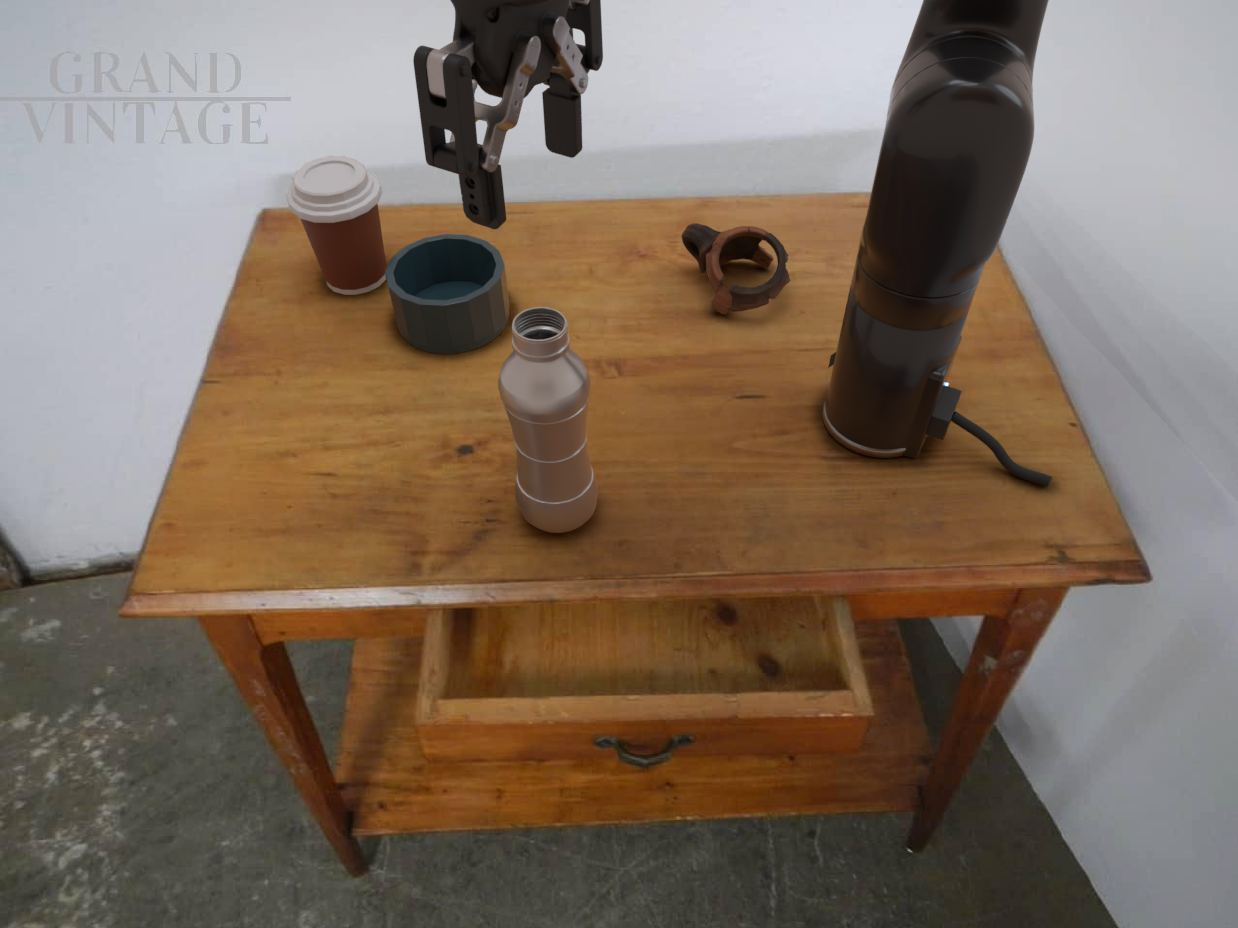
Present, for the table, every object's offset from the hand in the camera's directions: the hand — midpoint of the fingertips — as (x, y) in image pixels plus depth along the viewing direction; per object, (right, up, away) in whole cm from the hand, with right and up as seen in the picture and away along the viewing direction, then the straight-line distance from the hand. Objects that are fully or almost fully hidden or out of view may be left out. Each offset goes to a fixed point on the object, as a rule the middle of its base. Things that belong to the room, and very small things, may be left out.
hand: (527, 185), depth 55 cm
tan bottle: (0, -20, +23) cm, 30 cm away
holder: (-11, -2, +39) cm, 41 cm away
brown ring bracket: (+17, +2, +42) cm, 45 cm away
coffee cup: (-22, +3, +44) cm, 50 cm away
